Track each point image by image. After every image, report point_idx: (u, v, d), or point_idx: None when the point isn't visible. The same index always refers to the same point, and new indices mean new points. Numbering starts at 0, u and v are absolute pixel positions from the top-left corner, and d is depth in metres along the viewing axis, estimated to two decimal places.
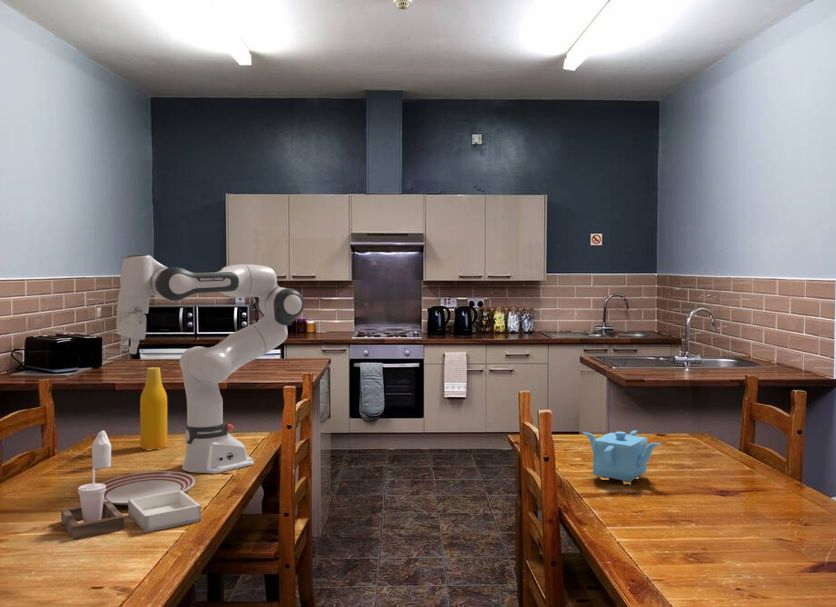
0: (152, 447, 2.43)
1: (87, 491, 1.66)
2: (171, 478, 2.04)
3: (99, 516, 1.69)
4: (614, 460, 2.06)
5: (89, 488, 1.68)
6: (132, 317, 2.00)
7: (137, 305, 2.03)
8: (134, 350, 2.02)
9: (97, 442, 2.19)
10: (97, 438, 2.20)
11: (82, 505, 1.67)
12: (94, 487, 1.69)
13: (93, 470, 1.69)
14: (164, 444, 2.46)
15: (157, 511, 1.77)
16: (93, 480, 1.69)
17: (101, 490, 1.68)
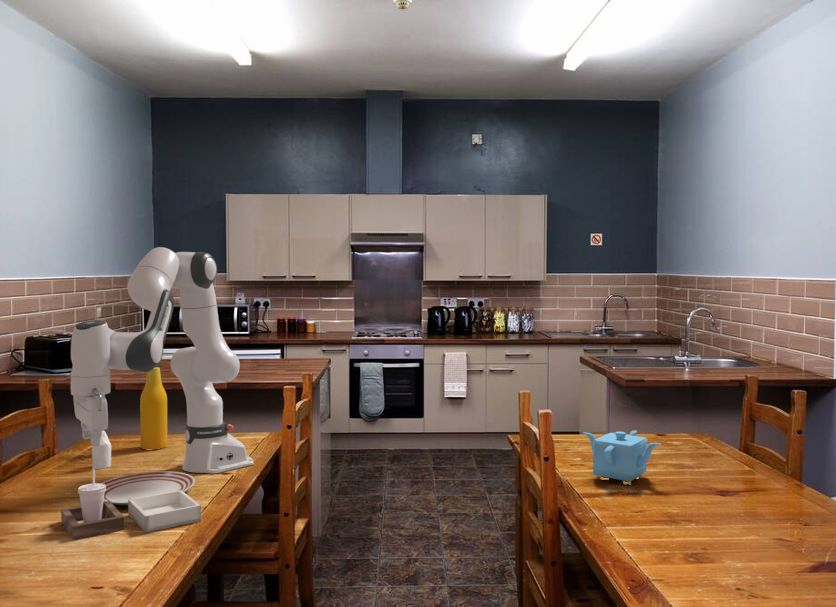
0: (152, 447, 2.43)
1: (87, 491, 1.66)
2: (171, 478, 2.04)
3: (99, 516, 1.69)
4: (614, 460, 2.06)
5: (89, 488, 1.68)
6: (89, 403, 1.61)
7: (95, 386, 1.65)
8: (97, 442, 1.64)
9: None
10: None
11: (82, 505, 1.67)
12: (94, 487, 1.69)
13: (93, 470, 1.69)
14: (164, 444, 2.46)
15: (157, 511, 1.77)
16: (93, 480, 1.69)
17: (101, 490, 1.68)
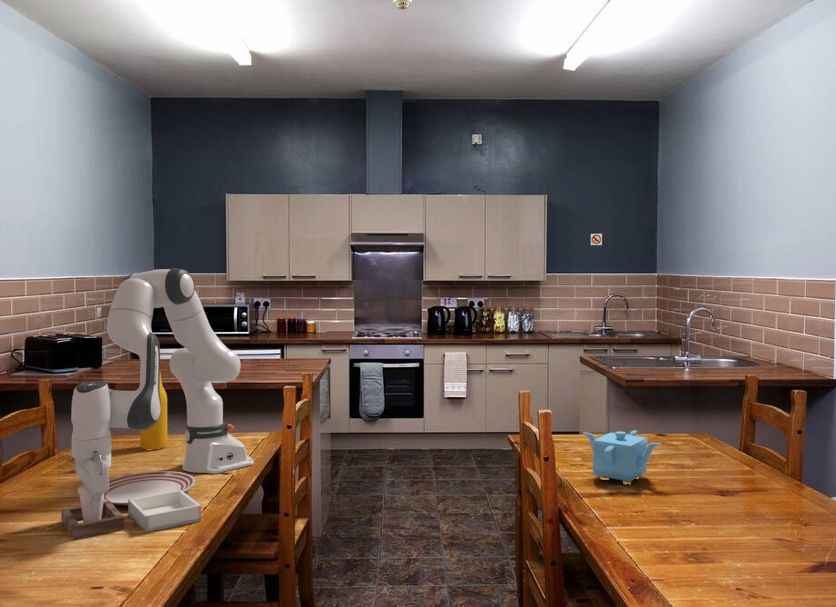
0: (152, 447, 2.43)
1: (87, 491, 1.66)
2: (171, 478, 2.04)
3: (99, 516, 1.69)
4: (614, 460, 2.06)
5: None
6: (90, 467, 1.62)
7: (95, 449, 1.65)
8: (97, 503, 1.66)
9: None
10: None
11: (82, 505, 1.67)
12: None
13: None
14: (164, 444, 2.46)
15: (157, 511, 1.77)
16: None
17: None
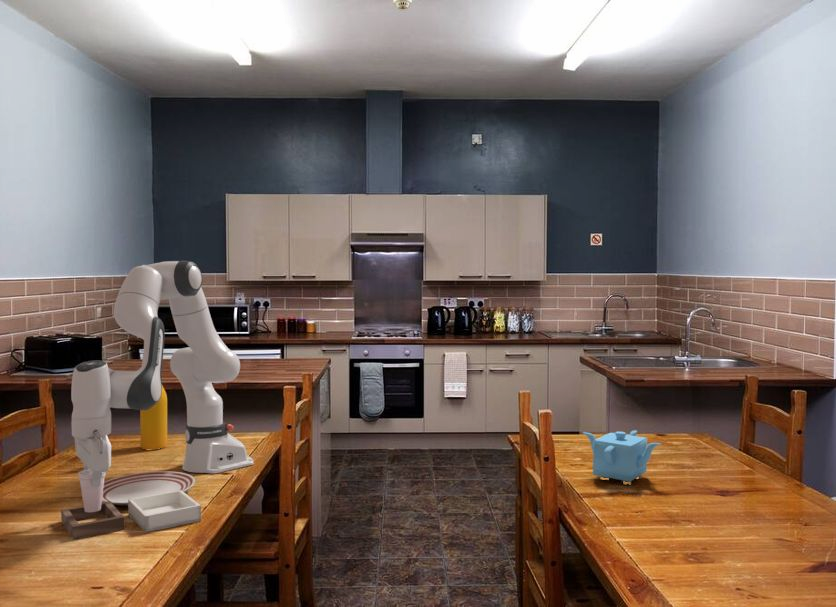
0: (152, 447, 2.43)
1: (86, 475, 1.66)
2: (171, 478, 2.04)
3: (99, 501, 1.69)
4: (614, 460, 2.06)
5: (89, 473, 1.68)
6: (90, 446, 1.62)
7: (95, 428, 1.65)
8: (97, 482, 1.66)
9: None
10: None
11: (82, 489, 1.67)
12: None
13: None
14: (164, 444, 2.46)
15: (157, 511, 1.77)
16: None
17: None
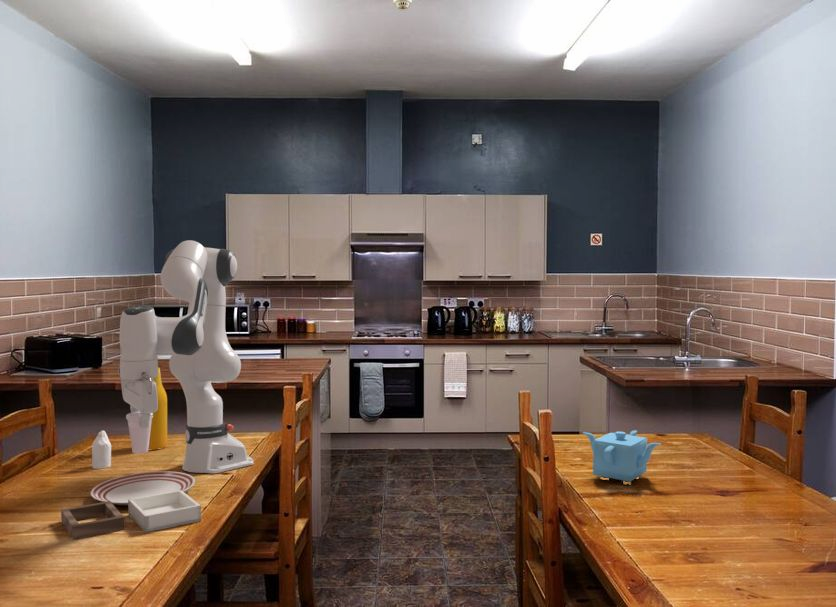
0: (152, 447, 2.43)
1: (134, 417, 1.70)
2: (171, 478, 2.04)
3: (146, 442, 1.72)
4: (614, 460, 2.06)
5: (137, 415, 1.71)
6: (139, 387, 1.65)
7: (144, 370, 1.68)
8: (145, 423, 1.69)
9: (97, 442, 2.19)
10: (97, 438, 2.20)
11: (130, 431, 1.71)
12: None
13: None
14: (164, 444, 2.46)
15: (157, 511, 1.77)
16: None
17: None
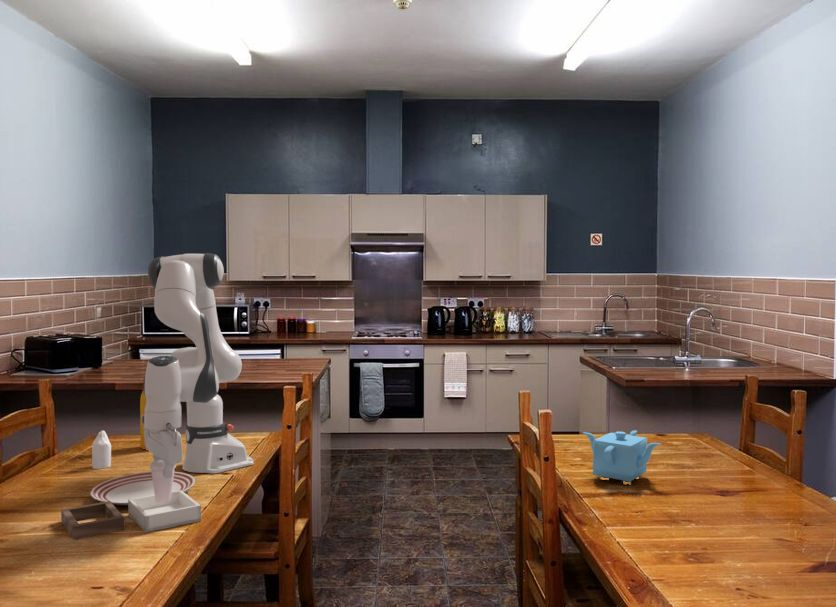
0: None
1: (158, 467, 1.72)
2: None
3: (169, 492, 1.74)
4: (614, 460, 2.06)
5: (160, 464, 1.73)
6: (164, 438, 1.67)
7: (168, 421, 1.71)
8: (169, 473, 1.71)
9: (97, 442, 2.19)
10: (97, 438, 2.20)
11: (154, 480, 1.73)
12: None
13: None
14: None
15: (157, 511, 1.77)
16: None
17: None
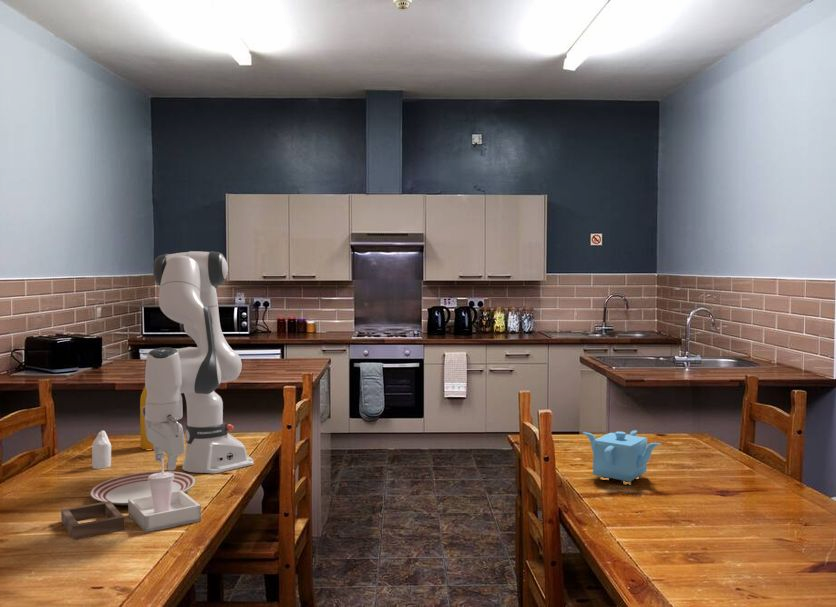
0: (152, 447, 2.43)
1: (156, 479, 1.73)
2: None
3: (168, 503, 1.76)
4: (614, 460, 2.06)
5: (158, 476, 1.75)
6: (166, 430, 1.67)
7: (169, 412, 1.71)
8: (172, 466, 1.71)
9: (97, 442, 2.19)
10: (97, 438, 2.20)
11: (152, 492, 1.75)
12: (163, 475, 1.76)
13: (162, 459, 1.77)
14: None
15: None
16: (162, 469, 1.77)
17: (169, 478, 1.75)
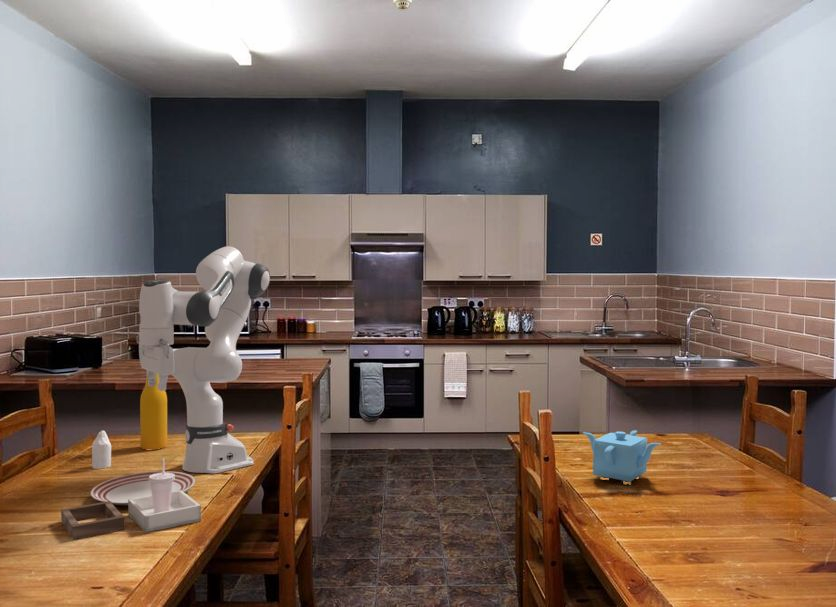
0: (152, 447, 2.43)
1: (157, 480, 1.73)
2: None
3: (168, 504, 1.76)
4: (614, 460, 2.06)
5: (159, 477, 1.75)
6: (158, 351, 1.81)
7: (161, 337, 1.85)
8: (163, 386, 1.84)
9: (97, 442, 2.19)
10: (97, 438, 2.20)
11: (152, 493, 1.74)
12: (164, 476, 1.75)
13: (163, 460, 1.76)
14: (164, 444, 2.46)
15: None
16: (163, 469, 1.76)
17: (170, 479, 1.75)
